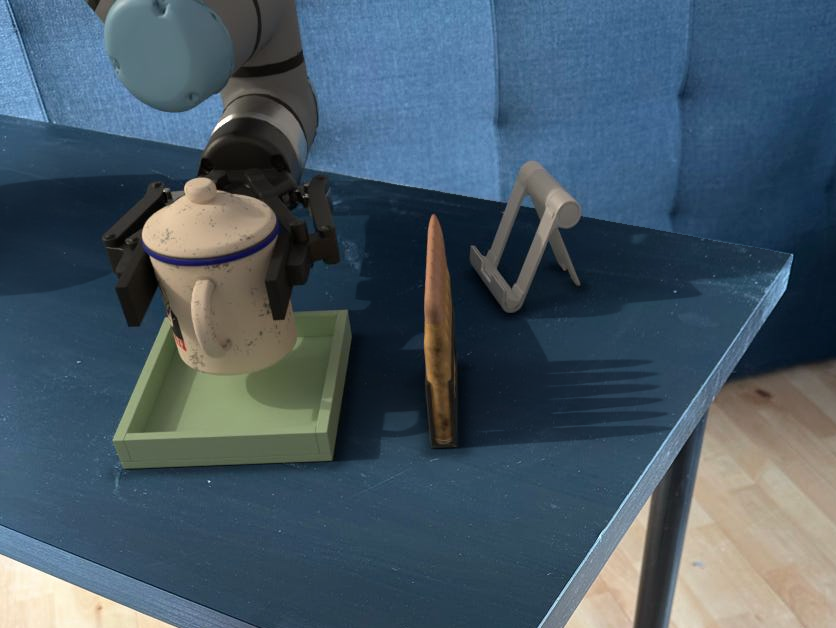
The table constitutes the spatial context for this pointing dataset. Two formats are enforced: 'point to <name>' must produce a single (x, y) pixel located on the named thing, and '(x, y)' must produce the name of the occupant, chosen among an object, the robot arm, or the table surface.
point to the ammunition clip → (440, 345)
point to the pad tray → (239, 404)
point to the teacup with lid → (218, 279)
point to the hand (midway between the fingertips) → (201, 303)
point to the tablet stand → (553, 213)
